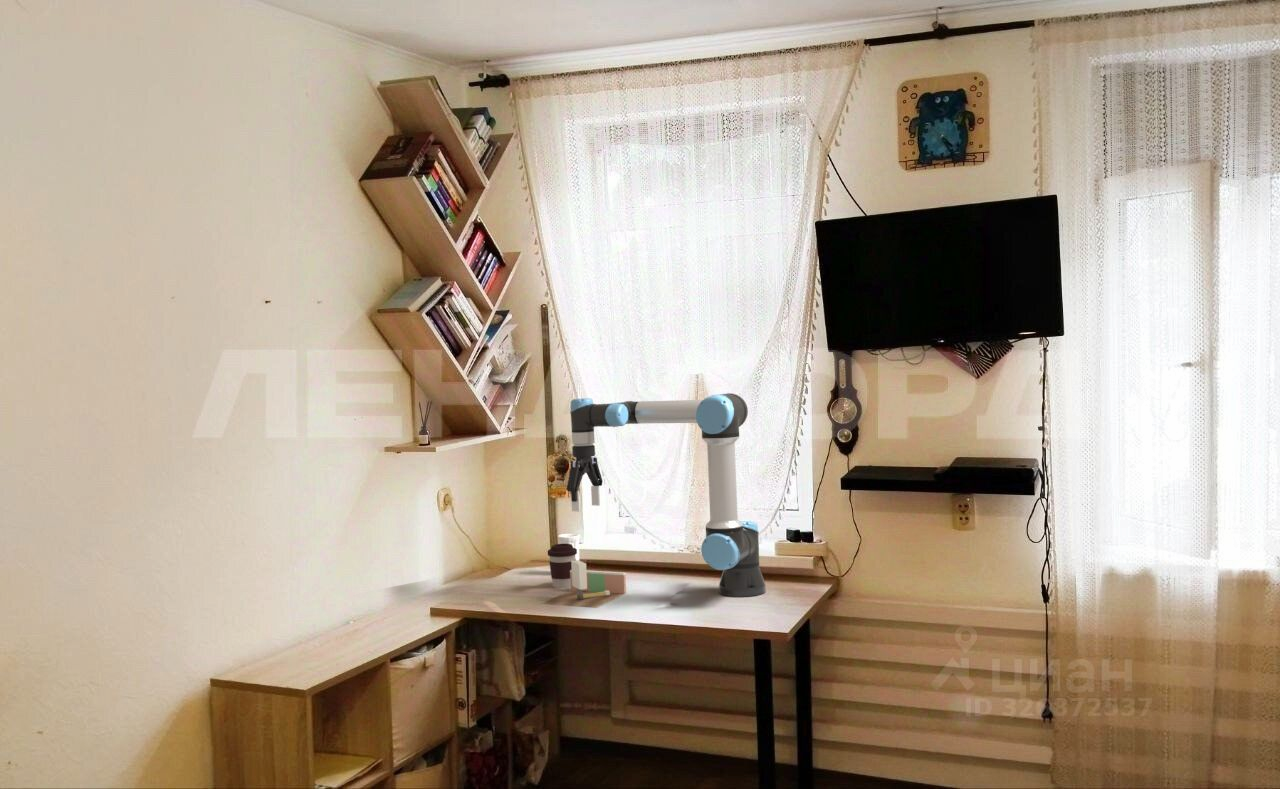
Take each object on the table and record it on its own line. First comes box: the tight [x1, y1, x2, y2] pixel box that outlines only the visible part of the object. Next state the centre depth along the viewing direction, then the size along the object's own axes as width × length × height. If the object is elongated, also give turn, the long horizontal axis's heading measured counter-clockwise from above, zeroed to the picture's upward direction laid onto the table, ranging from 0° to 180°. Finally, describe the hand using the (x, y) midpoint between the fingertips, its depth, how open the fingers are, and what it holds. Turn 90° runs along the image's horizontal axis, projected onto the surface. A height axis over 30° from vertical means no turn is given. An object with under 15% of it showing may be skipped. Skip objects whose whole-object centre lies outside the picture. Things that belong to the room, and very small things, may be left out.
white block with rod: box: [571, 559, 610, 601], centre depth 324 cm, size 11×7×12 cm, turn 114°
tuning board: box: [539, 589, 624, 609], centre depth 325 cm, size 20×21×1 cm
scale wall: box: [570, 569, 627, 595], centre depth 334 cm, size 20×1×7 cm, turn 64°
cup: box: [557, 533, 581, 561], centre depth 369 cm, size 8×8×14 cm
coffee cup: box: [547, 543, 577, 589], centre depth 345 cm, size 10×10×15 cm
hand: (586, 508), depth 338 cm, fingers open, 13 cm apart
